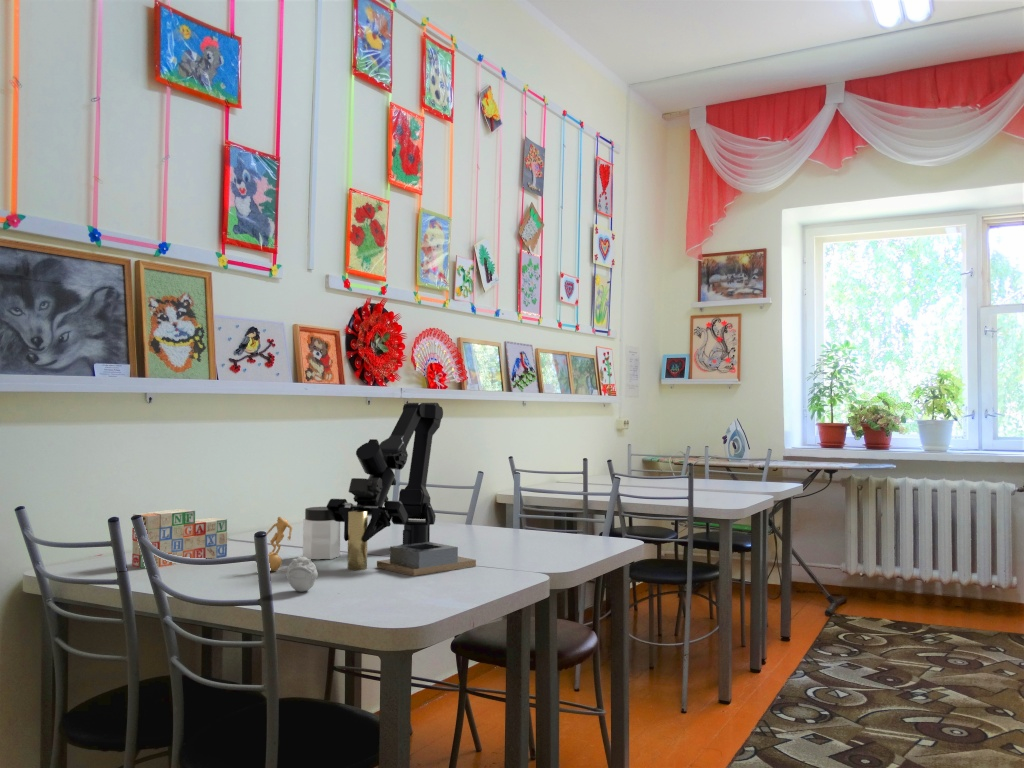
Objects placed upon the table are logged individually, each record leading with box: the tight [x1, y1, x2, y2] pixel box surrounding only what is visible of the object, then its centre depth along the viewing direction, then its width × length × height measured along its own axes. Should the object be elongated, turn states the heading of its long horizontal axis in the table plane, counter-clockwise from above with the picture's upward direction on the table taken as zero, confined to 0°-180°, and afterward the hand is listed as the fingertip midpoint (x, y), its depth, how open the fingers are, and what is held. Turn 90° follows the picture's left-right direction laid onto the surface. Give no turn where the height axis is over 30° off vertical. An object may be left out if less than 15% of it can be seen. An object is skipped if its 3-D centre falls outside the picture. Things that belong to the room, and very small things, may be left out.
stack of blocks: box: [131, 508, 228, 569], centre depth 201 cm, size 21×6×12 cm, turn 145°
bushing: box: [347, 510, 369, 571], centre depth 192 cm, size 4×4×13 cm
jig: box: [376, 541, 477, 577], centre depth 194 cm, size 18×14×5 cm
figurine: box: [265, 516, 293, 572], centre depth 189 cm, size 8×6×12 cm
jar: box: [302, 506, 341, 560], centre depth 207 cm, size 9×8×12 cm
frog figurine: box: [285, 556, 319, 593], centre depth 166 cm, size 6×7×7 cm
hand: (354, 540), depth 190 cm, fingers closed on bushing, 4 cm apart
